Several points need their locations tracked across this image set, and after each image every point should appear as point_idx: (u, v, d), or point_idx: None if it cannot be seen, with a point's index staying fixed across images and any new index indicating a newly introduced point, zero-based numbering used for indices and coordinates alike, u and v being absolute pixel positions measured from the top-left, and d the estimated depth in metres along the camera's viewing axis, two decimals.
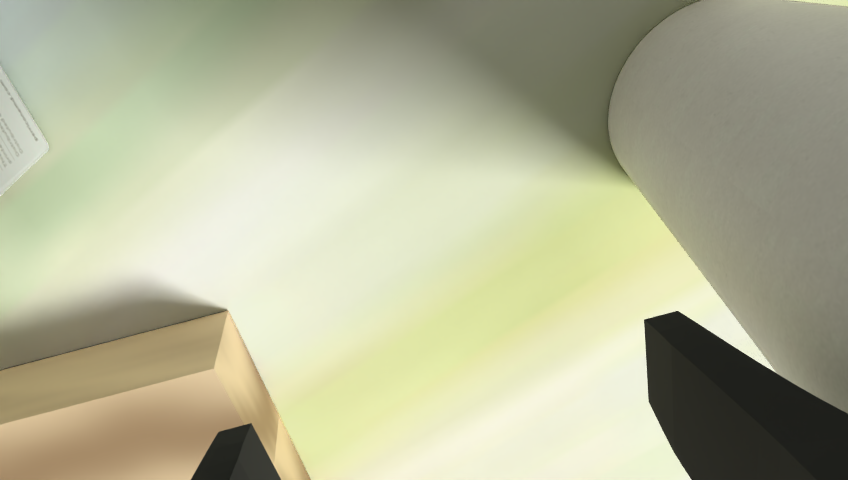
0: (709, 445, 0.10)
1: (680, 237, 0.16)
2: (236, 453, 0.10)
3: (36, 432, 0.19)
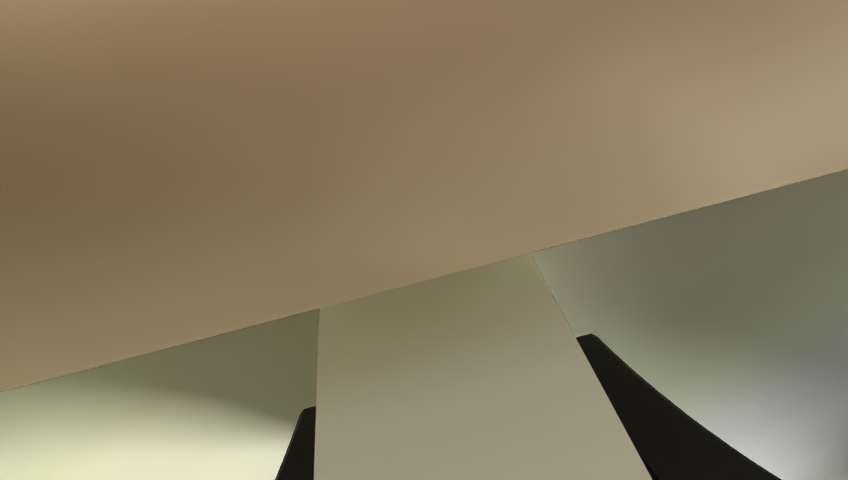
0: None
1: None
2: None
3: None
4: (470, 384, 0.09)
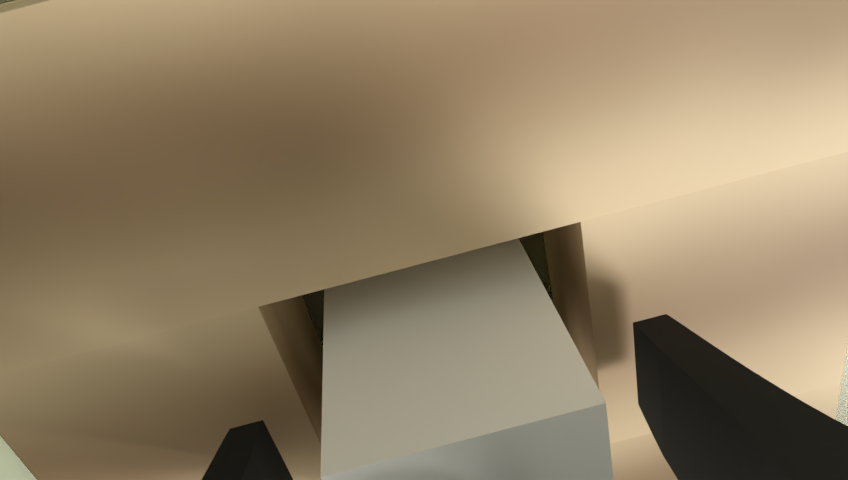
0: (695, 448, 0.10)
1: None
2: (248, 450, 0.10)
3: None
4: (448, 303, 0.11)
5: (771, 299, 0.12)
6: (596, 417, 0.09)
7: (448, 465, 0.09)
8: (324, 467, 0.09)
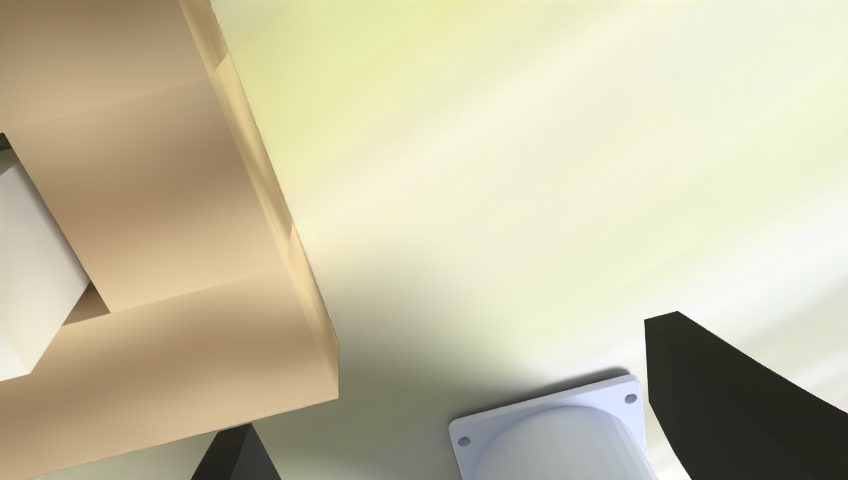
0: (708, 445, 0.10)
1: None
2: (236, 453, 0.10)
3: None
4: None
5: (188, 196, 0.17)
6: None
7: None
8: None
